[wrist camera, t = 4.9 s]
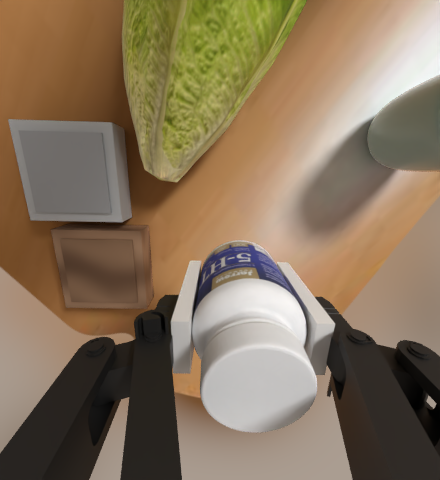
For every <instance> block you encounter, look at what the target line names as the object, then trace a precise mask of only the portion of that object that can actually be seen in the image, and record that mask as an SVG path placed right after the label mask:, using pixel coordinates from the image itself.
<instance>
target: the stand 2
mask: <svg viewBox="0 0 440 480" xmlns="http://www.w3.org/2000/svg"><path fill="white" fill-rule="evenodd" d="M51 234H52V239H53V244H54V249H55V254H56V259H57V264H58V269H59V274H60V279H61V284H62V289H63V294H64V299H65V304H66V308H123V309H147V308H148V306H149V304H150V302H151V300H152V298H153V297H154V294H153V279H152V265H151V250H150V236H149V226H148V225H99V224H66V225H63V226H60V227H57V228H54V229H51Z"/></svg>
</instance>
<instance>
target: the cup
mask: <svg viewBox="0 0 440 480" xmlns="http://www.w3.org/2000/svg"><path fill="white" fill-rule="evenodd" d="M367 143H368V148H369V151H370V153H371V155H372V156H373V158H374V159H375V160H376V161H377V162H378V163H379V164H381V165H383V166H385V167H387V168H391V169H396V170H402V171H420V172H431V171H440V75H438V76H436V77H434V78H431V79H429V80H427V81H425V82H423V83H421V84H419V85H417V86H415V87H413V88H411V89H410V90H408V91H406V92H404V93H403V94H401V95H400V96H398V97H397V98H395V99H394V100H392V101H391V102H389V103H388V104H387V105H386V106H385V107H384V108H382V109H381V110H380V111H379V113H378V114H377V115H376V116H375V117H374V119H373V121H372V122H371V124H370V127H369V130H368V136H367Z"/></svg>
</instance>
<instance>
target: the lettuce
mask: <svg viewBox="0 0 440 480" xmlns="http://www.w3.org/2000/svg"><path fill="white" fill-rule="evenodd" d="M306 1H307V0H124V9H123V26H122V52H123V69H124V82H125V87H126V92H127V97H128V102H129V107H130V112H131V116H132V120H133V124H134V128H135V133H136V137H137V141H138V146H139V153H140V156H141V159H142V162H143V165H144V169H145V170H146V171H147V172H149V173H150V174H152V175H153V176H155V177H156V178H158V179H159V180H163V181H171V182H178V181H179V180H180V179H181V178H182V177H183V176H184V175H185V174H186V172H187V171H188V170H189V169H190V168H191V167H192V166H193V164H194V163H195V162H196V161H197V160H198V159H199V158H200V157H201V156H202V155H203V154H204V153H205V152H206V151H207V150H208V149H209V148H210V147H211V146H212V145H213V144H214V143H215V141H216V140H217V139H218V138H219V137H220V136H221V135H222V134H223V133H224V132H225V131H226V130H227V128H228V127H229V125H230V124H231V122H232V121H233V119H234V118H235V116H236V115H237V113H238V112H239V110H240V109H241V107H242V106H243V104H244V103H245V101H246V100H247V98H248V97H249V96H250V94H251V93H252V92H253V90H254V89H255V88H256V86H257V85H258V84H259V82H260V81H261V79H262V78H263V77H264V75H265V74H266V73H267V71H268V70H269V69H270V67H271V66H272V65H273V63H274V61H275V59H276V57H277V55H278V54H279V52H280V50H281V48H282V46H283V44H284V43H285V41H286V39H287V37H288V35H289V33H290V32H291V30H292V28H293V26H294V24H295V22H296V20H297V19H298V17H299V15H300V13H301V11H302V9H303V7H304V6H305V4H306Z"/></svg>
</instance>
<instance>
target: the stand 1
mask: <svg viewBox="0 0 440 480" xmlns="http://www.w3.org/2000/svg"><path fill="white" fill-rule="evenodd" d="M8 121H9V125H10V130H11V134H12V139H13V144H14V148H15V153H16V157H17V162H18V166H19V171H20V175H21V180H22V184H23V189H24V193H25V198H26V202H27V207H28V211H29V216H30V220H37V221H85V222H124V221H126V220H128V219H130V218H132V211H131V200H130V189H129V178H128V167H127V156H126V144H125V133H124V128H122V127H120V126H118V125H116V124H114V123H112V122H84V121H49V120H14V119H8Z"/></svg>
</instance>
